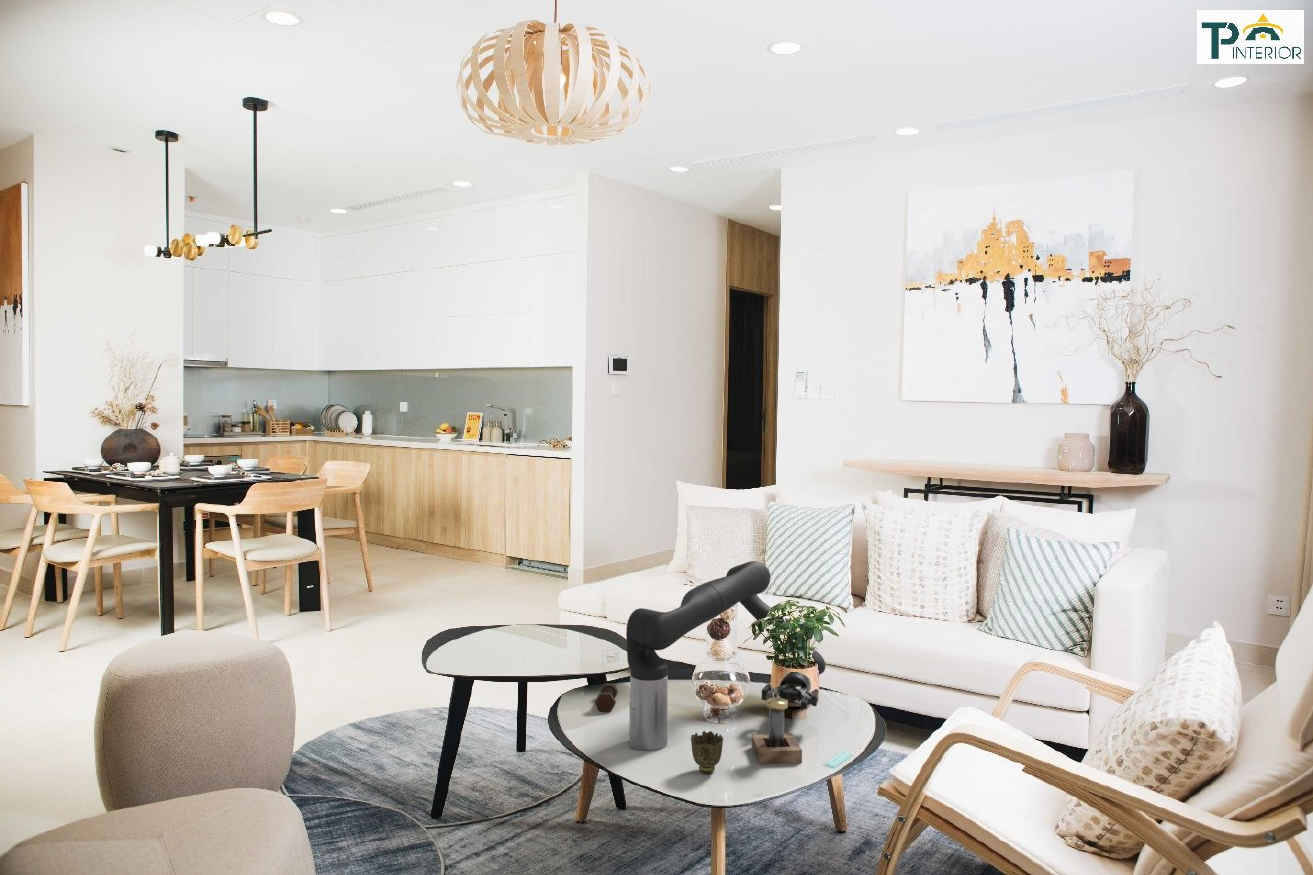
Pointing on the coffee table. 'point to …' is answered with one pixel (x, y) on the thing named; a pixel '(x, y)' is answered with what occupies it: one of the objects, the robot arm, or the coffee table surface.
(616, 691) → the brown hex dumbbell
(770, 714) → the pin
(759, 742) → the socket block
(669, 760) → the coffee table surface
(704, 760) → the cup
